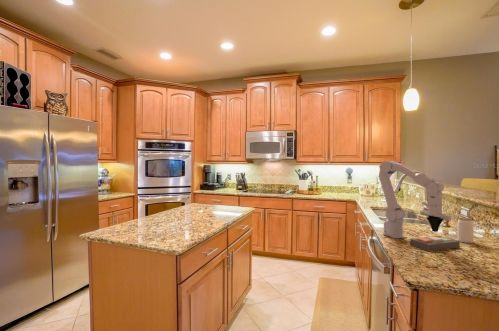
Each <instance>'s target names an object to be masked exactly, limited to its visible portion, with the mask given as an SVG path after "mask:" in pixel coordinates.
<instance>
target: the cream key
mask: <svg viewBox="0 0 499 331" xmlns="http://www.w3.org/2000/svg"><path fill="white" fill-rule="evenodd" d="M426 237H427V239H430V240H432V241H434V242H440V241H442V239H440V238H437V237H433V236H426Z"/></svg>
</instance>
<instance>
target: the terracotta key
mask: <svg viewBox="0 0 499 331" xmlns="http://www.w3.org/2000/svg"><path fill="white" fill-rule="evenodd" d="M417 241H420V242H423V243H431V242H432V240H430V239H427V238H423V237H417Z"/></svg>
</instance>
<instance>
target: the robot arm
mask: <svg viewBox="0 0 499 331" xmlns="http://www.w3.org/2000/svg"><path fill="white" fill-rule="evenodd" d="M378 167H379V174H378V178H379V182H380V186H381V188H382V191H383V195H384V199H385V203H386V206H385V217H386V220H384V222H383V233H382V235H385V236H387V237H390V238H393V239H404V238H407V235H406V236H405V235H404V233H403V232H404V229H403V228H404V226H403V225H404V224H403V223H404V221H403V219H404V218H405V216H406V213H405V211H404V210H403V208H402V206H401V205H400V204H399V202H398V200H397V197H396V195H395V191H394V187H393V184H392V181H391V177H392V175H393V174H394V173H396V172H400V173H401V174H404V175H406V176H407V177H410V178H412V181H413V183H415V184H417V185H419V186H420V187H423V188H424V189H425V190H426V191H427V211H425V210H420V212H419V215H420V216H426V219H427V221H428V222H429V225H430V227H431V232H433V233H434V232H435V233H437V232H439V228H440V226H441V224H442V223H443V221H444V220H446V221H453V220H452V215H449V214H448V215H447V214H444V213H443V191H444V189H445V185H444V184H443V183H442V182H441V181H439V180H436V179H435V178H431V177H429V176H427V174H426V173H422V172H418V173H417V172H416V171H414V170H412V169H410V168H409V167H407V166H405V165H404V164H402V163H401V162H398V161H396V160H384V161H382V162H381V163H380V165H379V166H378Z"/></svg>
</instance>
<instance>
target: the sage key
mask: <svg viewBox="0 0 499 331" xmlns="http://www.w3.org/2000/svg"><path fill="white" fill-rule="evenodd" d="M444 237H445V236H442V237H441V238H440V239H442V240H444V241H449V240H451V239H452V238H449V239H447V238H448V237H446V238H444Z"/></svg>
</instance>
